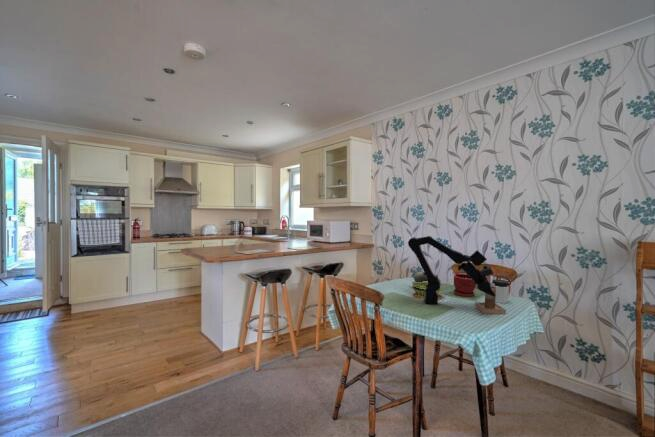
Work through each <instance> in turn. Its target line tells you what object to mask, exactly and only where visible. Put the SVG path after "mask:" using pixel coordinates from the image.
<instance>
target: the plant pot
mask: <svg viewBox="0 0 655 437" xmlns="http://www.w3.org/2000/svg"><path fill="white" fill-rule="evenodd" d="M453 285H454V290H453V293H455V294H456V295H458V296H461V297H472V296H474V295H475V292H474V291H475V289H476V287H477V284H475V282H474V281H473V280H472V279H471V278H470V277H469V276H468V275H467V274H466V273H454V275H453Z"/></svg>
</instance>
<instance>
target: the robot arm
mask: <svg viewBox="0 0 655 437" xmlns="http://www.w3.org/2000/svg"><path fill="white" fill-rule="evenodd" d="M427 244H428V245H430V246H432V247H433V248H434V249H437V250H438V251H440V252H441V253H443V254H445V255H446V256H447V257H448V259H449V258H450V260H452V262H454V263H455V264H457V271H459V272H460V271H461V270H462V271H463V272H464V274H467V275H468V276H469V277H470V278H471V279H472V280H473V281H474V282H475V284H476V287H477V289H478V290H479V291H480V292H483V293H484V294H485V293H487V294H489V295H491V296H493V297H495V296H496V295H495V294H494V292H493V291H492V289H491V288H490V283H491V282H490V281H489V280H488V277H489V276H491V275H494V271H493V269H492V267H490V266H487V265H483V263H485V262H486V261H487V260H488V259H487V258H486V257H485V255H484V254H483V253H481V252H480V251H479V250H477V249H476V250H475V251H474V252H473V253H472V254H471V255H466V254H463V253H462V252H460V251H457V250H456V249H453V248H450V247H448V246H447V245H445V244H443V243H442V242H440V241H438V240H437V239H435V238H433V237H432V236H430V235H426V236H423V237H415V236H414V237H413V236H412V237H411V238H410V239H409V240H408V242H407V245H408V247H409V248H410V249H411V251H412V252H413V253H414V254H415V256H416V258H417V260H418V262H419V264H420V267H421V268H422V270H423V272H424V273H425V274H426V276H427V280H428V285H427V286H425V288H426V289H425V290H424V298H423V302H424V303H425V305H439V304H438V303H439V295H438V291H439V290H440V289H441V283H442V282H441V279H440V278H439V276H438V274H434V272H433V271H432V268H431V265H430V264H429V262H428V261H427V259H426V257H425V254H424V253H423V251H422V246H423V245H427ZM481 265H483V266H482V269H479V268H477V267H476V266H478V267H480V266H481ZM487 276H488V277H487Z"/></svg>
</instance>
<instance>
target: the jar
mask: <svg viewBox="0 0 655 437" xmlns="http://www.w3.org/2000/svg"><path fill="white" fill-rule="evenodd" d="M491 281H492V282H491V283H494V284H495V287H496V299H495V303H497V304H498V303H499V304H507V303H509V292H510V287H509V280H504V279H497V278H496V279H492V280H491Z"/></svg>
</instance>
